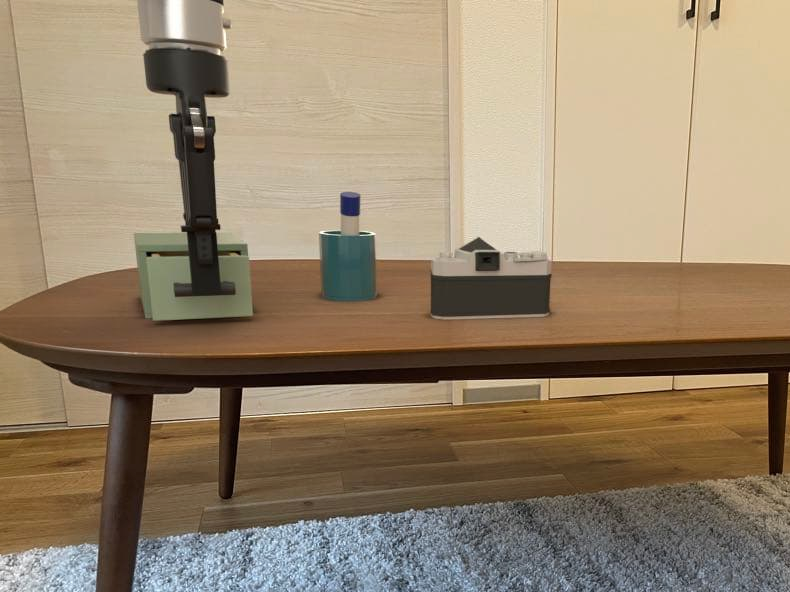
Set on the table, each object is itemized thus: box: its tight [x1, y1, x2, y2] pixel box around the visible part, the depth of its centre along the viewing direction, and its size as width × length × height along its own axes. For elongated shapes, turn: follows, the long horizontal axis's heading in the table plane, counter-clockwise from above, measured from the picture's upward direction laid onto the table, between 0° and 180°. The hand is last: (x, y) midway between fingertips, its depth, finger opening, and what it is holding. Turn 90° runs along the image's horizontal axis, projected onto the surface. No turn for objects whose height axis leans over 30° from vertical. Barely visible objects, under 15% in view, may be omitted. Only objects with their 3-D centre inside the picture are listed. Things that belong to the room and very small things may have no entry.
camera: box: [430, 236, 553, 320], centre depth 100 cm, size 16×9×10 cm, turn 111°
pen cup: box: [318, 230, 378, 302], centre depth 107 cm, size 7×7×9 cm
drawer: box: [146, 251, 254, 322], centre depth 90 cm, size 17×10×7 cm, turn 28°
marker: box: [339, 191, 362, 235], centre depth 104 cm, size 3×3×14 cm
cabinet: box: [133, 232, 249, 319], centre depth 96 cm, size 14×12×9 cm
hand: (206, 294), depth 82 cm, fingers closed
